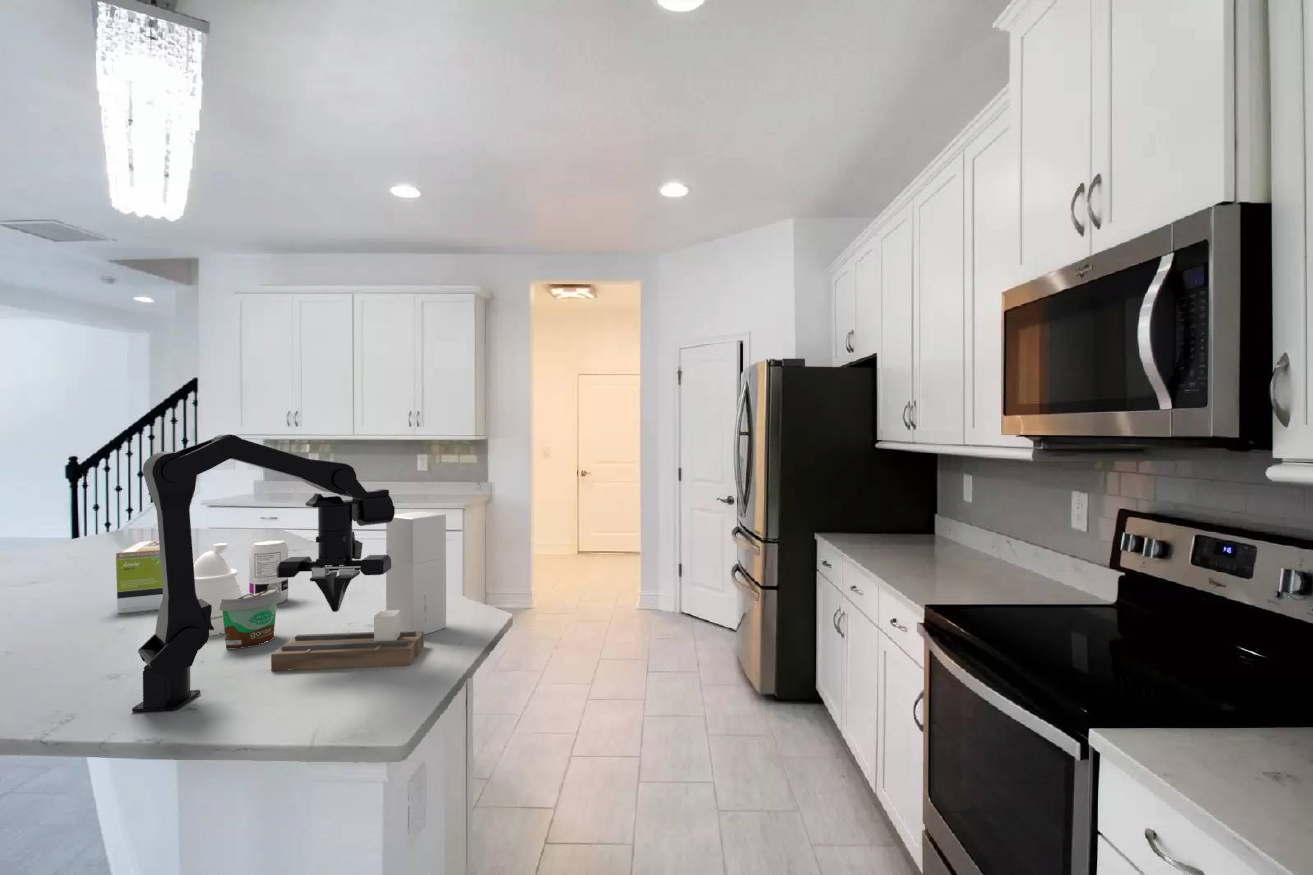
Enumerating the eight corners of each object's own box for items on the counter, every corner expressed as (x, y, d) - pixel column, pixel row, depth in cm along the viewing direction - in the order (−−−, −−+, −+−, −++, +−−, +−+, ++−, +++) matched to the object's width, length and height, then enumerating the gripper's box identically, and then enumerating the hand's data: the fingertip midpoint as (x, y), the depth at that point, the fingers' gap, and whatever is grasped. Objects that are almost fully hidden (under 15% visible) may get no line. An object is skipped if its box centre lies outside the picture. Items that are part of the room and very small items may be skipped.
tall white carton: (412, 639, 130) (412, 518, 130) (385, 632, 135) (385, 515, 134) (446, 627, 138) (446, 513, 137) (420, 621, 142) (419, 511, 142)
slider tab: (394, 642, 118) (394, 616, 118) (374, 643, 118) (374, 616, 118) (400, 635, 122) (400, 610, 122) (380, 636, 122) (380, 610, 122)
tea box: (136, 598, 161) (136, 540, 160) (184, 594, 165) (184, 538, 165) (115, 614, 147) (115, 551, 147) (168, 609, 151) (168, 548, 151)
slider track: (410, 665, 116) (410, 644, 116) (271, 671, 113) (271, 650, 113) (423, 646, 126) (423, 627, 126) (295, 651, 123) (295, 632, 123)
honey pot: (234, 615, 146) (233, 538, 146) (254, 626, 138) (253, 544, 138) (165, 628, 136) (165, 546, 136) (183, 641, 128) (182, 553, 128)
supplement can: (241, 605, 155) (241, 544, 154) (270, 596, 163) (270, 538, 162) (267, 608, 152) (266, 546, 152) (295, 599, 160) (295, 540, 160)
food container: (246, 653, 122) (245, 601, 121) (219, 651, 123) (219, 600, 123) (294, 633, 134) (294, 586, 134) (270, 631, 135) (269, 584, 135)
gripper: (398, 521, 128) (399, 598, 128) (301, 523, 125) (301, 601, 126) (382, 530, 117) (382, 614, 117) (274, 532, 114) (275, 618, 115)
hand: (335, 611), depth 119 cm, fingers closed
